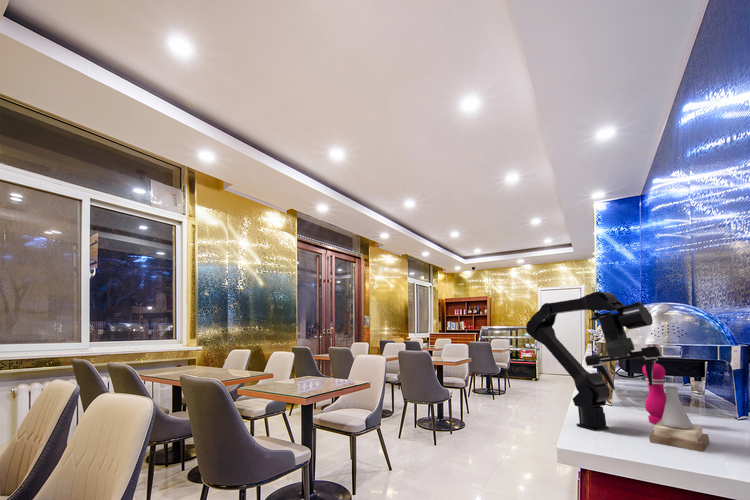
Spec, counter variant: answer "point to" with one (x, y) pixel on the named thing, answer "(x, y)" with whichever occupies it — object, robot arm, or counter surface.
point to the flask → (674, 411)
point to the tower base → (679, 437)
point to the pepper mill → (655, 394)
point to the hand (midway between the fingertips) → (632, 387)
